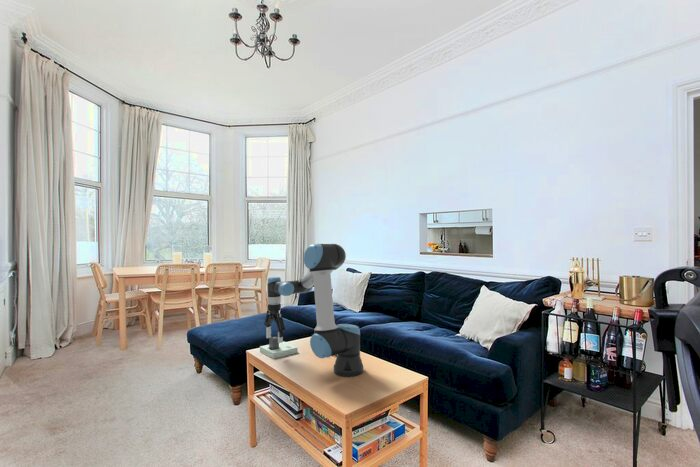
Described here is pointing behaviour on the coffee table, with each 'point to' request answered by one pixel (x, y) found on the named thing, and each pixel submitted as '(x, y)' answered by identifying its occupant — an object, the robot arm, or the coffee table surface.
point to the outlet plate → (279, 350)
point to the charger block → (273, 343)
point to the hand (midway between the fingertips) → (274, 340)
